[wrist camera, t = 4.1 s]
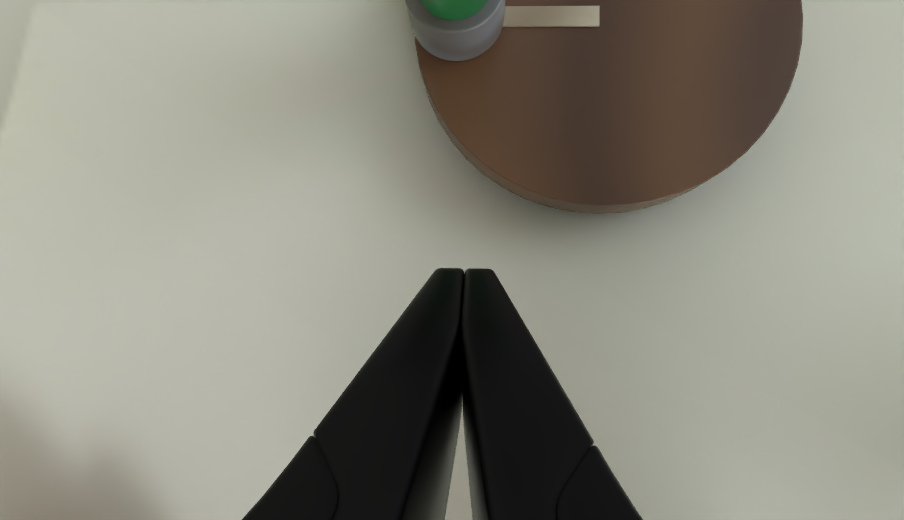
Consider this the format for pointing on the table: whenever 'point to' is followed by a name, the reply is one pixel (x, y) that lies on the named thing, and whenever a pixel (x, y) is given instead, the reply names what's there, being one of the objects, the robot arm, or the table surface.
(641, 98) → the disc
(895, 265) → the table surface
